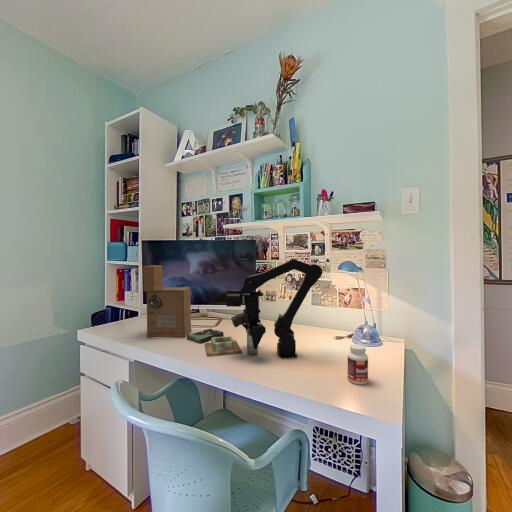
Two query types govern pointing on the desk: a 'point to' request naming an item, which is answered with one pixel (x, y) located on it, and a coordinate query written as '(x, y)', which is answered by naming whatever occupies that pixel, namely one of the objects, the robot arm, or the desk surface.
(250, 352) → the peg
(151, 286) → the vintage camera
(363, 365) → the pill bottle
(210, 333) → the disk drive
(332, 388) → the desk surface
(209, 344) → the dock board
